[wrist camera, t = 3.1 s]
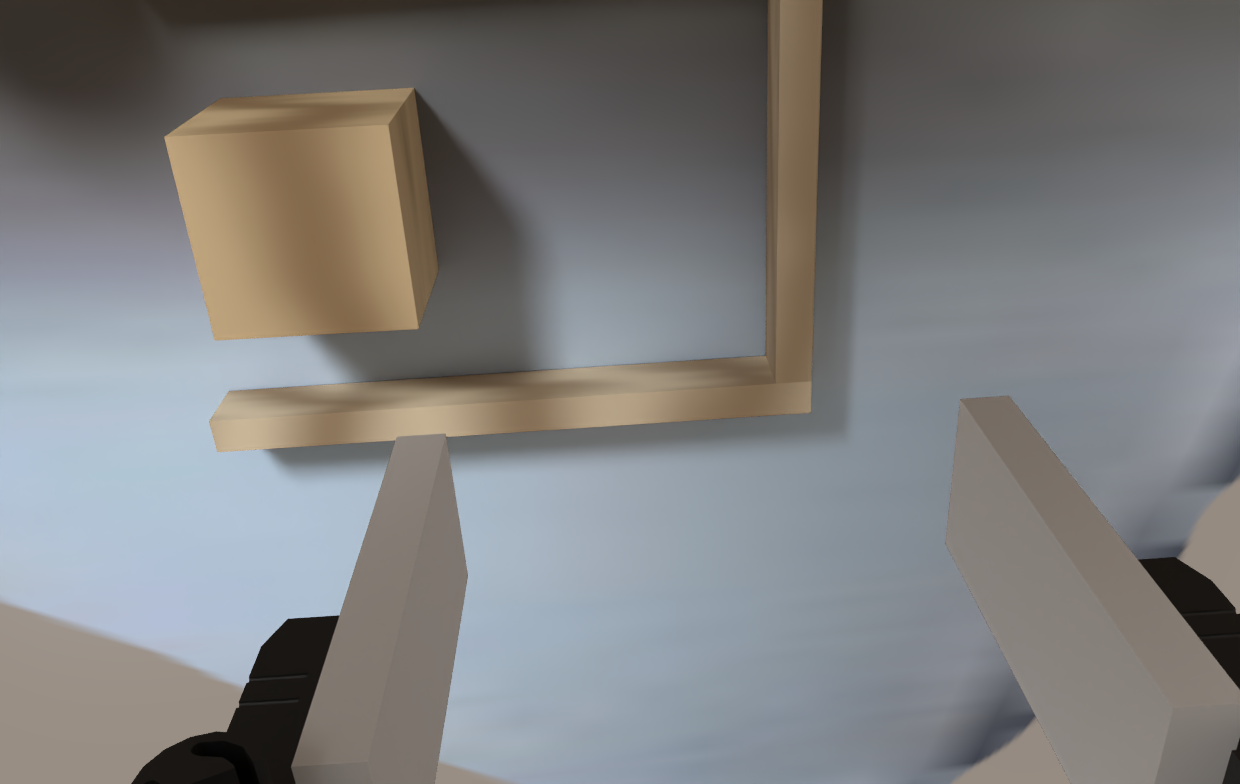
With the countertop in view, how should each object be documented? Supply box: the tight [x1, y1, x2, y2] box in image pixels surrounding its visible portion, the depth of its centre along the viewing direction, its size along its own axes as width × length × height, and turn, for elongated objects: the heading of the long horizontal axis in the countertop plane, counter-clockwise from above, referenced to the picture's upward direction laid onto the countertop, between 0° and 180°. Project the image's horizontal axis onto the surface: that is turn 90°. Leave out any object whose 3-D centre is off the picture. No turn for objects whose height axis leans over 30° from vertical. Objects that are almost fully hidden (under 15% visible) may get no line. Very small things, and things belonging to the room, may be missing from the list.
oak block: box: [164, 88, 439, 340], centre depth 32 cm, size 6×6×5 cm
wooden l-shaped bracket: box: [209, 0, 823, 452], centre depth 33 cm, size 20×16×2 cm
